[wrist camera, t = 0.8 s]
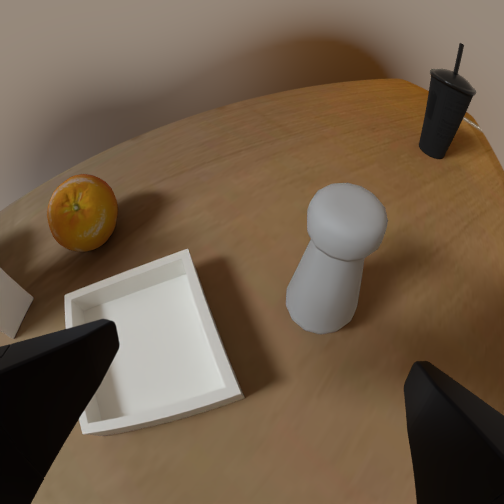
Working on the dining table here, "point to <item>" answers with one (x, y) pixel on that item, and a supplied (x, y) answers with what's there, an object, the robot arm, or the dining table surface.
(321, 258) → the salt shaker
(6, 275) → the milk
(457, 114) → the drinking cup
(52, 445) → the robot arm
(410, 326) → the dining table surface
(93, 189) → the fruit
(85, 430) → the dish
